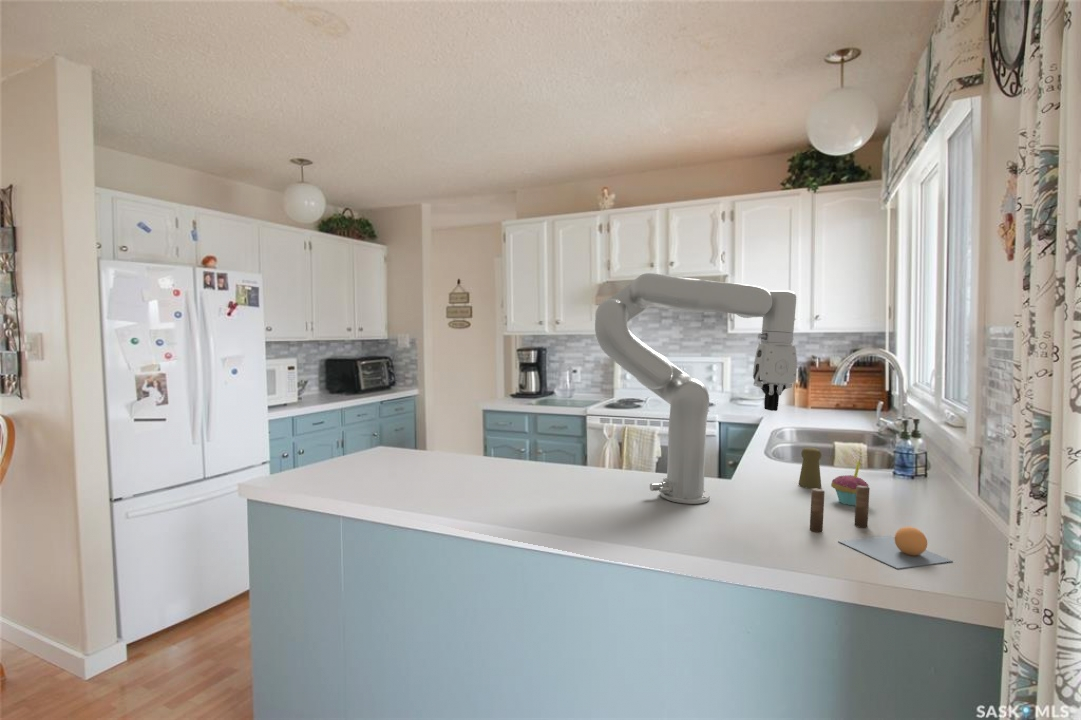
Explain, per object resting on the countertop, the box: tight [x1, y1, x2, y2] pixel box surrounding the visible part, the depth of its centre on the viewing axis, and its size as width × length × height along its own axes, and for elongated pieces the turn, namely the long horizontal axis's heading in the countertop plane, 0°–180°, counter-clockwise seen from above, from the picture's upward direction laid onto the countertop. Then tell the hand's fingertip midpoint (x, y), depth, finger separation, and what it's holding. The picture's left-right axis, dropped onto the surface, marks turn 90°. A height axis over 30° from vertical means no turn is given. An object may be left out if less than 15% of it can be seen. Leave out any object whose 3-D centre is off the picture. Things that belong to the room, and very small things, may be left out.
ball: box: [894, 526, 928, 556], centre depth 114 cm, size 6×6×6 cm
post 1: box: [809, 488, 825, 533], centre depth 127 cm, size 3×3×9 cm
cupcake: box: [830, 458, 870, 506], centre depth 148 cm, size 9×8×12 cm
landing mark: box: [838, 535, 954, 570], centre depth 116 cm, size 14×14×1 cm
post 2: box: [854, 486, 871, 529], centre depth 131 cm, size 3×3×9 cm
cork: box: [798, 446, 822, 489], centre depth 164 cm, size 6×6×11 cm
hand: (770, 409), depth 148 cm, fingers closed
